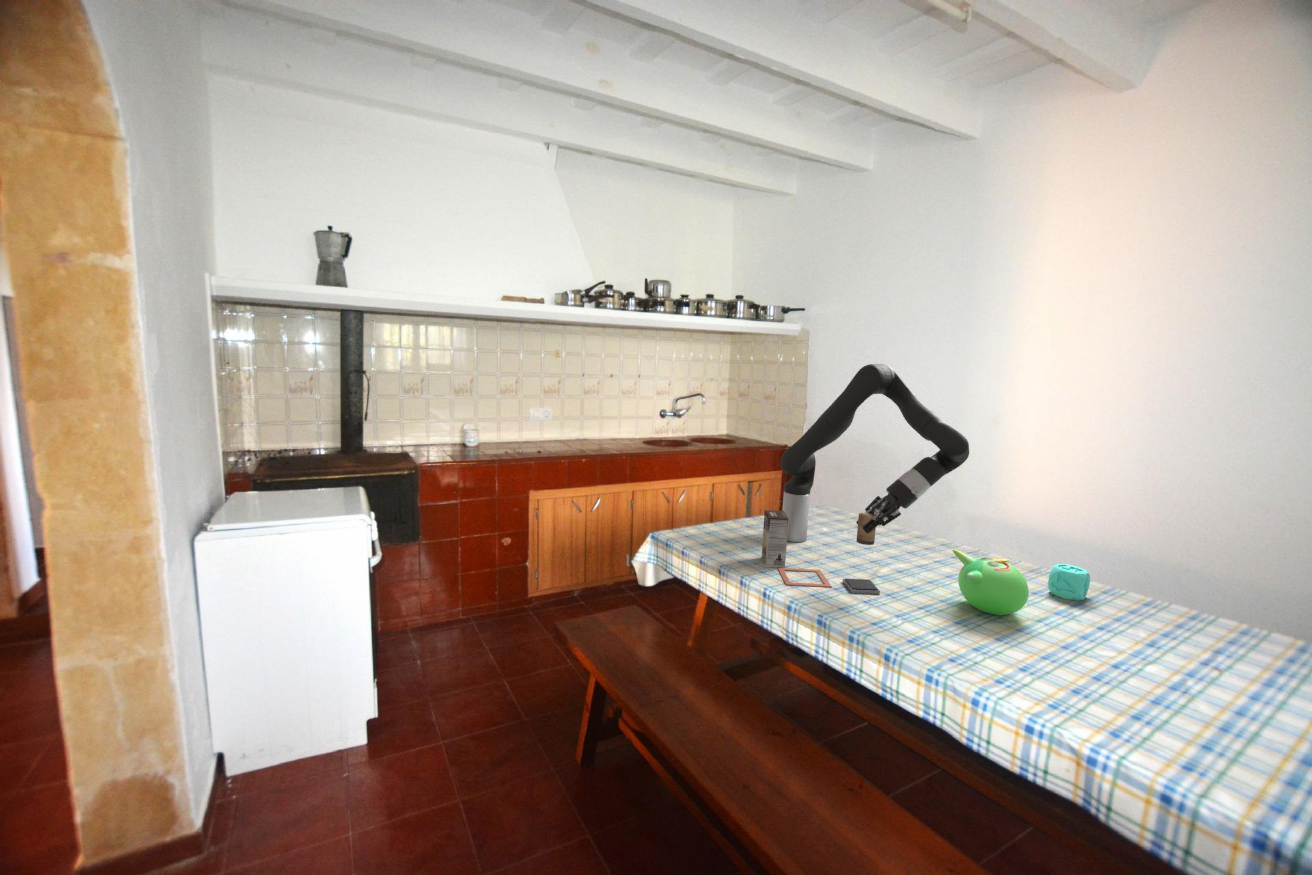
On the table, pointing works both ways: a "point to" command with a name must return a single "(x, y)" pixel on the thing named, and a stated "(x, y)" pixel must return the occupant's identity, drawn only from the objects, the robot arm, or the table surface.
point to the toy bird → (992, 584)
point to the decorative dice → (1069, 582)
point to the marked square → (787, 582)
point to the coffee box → (774, 538)
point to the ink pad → (861, 586)
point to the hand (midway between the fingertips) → (861, 527)
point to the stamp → (861, 534)
